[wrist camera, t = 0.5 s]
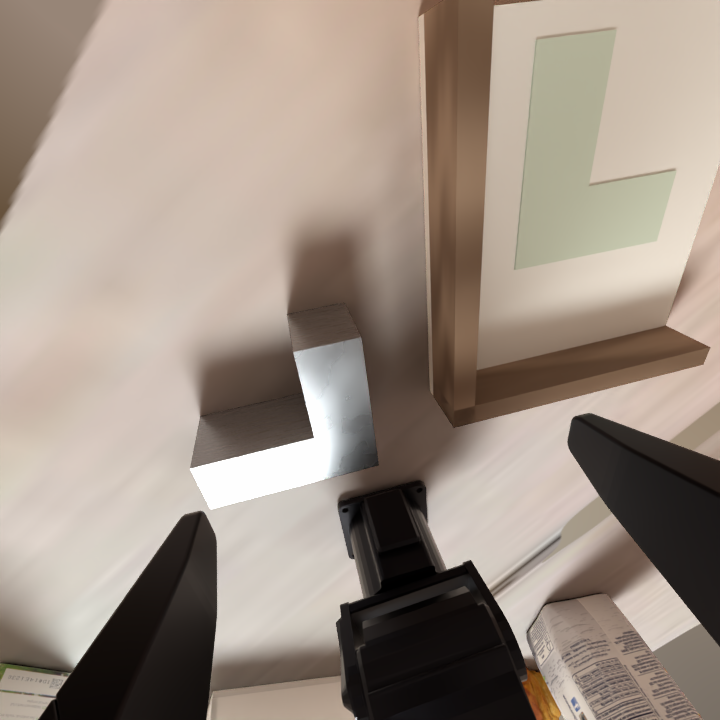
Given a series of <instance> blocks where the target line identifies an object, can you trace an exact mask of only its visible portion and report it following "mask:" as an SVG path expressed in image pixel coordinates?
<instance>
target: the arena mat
mask: <svg viewBox="0 0 720 720" xmlns="http://www.w3.org/2000/svg"><path fill="white" fill-rule="evenodd" d="M418 25H419V58H420V90H421V123H422V155H423V187H424V220H425V252H426V284H427V317H428V349H429V381H430V392H431V393H432V395H433V361H432V321H431V281H430V241H429V201H428V161H427V121H426V81H425V41H424V14H422V15H421V16H419V17H418ZM719 164H720V0H539V1H530V2H521V3H512V4H503V5H494V15H493V36H492V57H491V78H490V99H489V120H488V141H487V162H486V183H485V205H484V226H483V247H482V268H481V289H480V310H479V331H478V352H477V370H480V369H484V368H488V367H492V366H497V365H501V364H505V363H509V362H514V361H518V360H522V359H526V358H531V357H535V356H539V355H543V354H548V353H552V352H556V351H560V350H564V349H569V348H573V347H577V346H581V345H586V344H590V343H594V342H598V341H603V340H607V339H611V338H615V337H619V336H624V335H628V334H632V333H636V332H641V331H645V330H649V329H653V328H658V327H662V326H666V323H667V320H668V317H669V314H670V311H671V308H672V305H673V302H674V299H675V296H676V293H677V290H678V287H679V284H680V281H681V278H682V275H683V272H684V269H685V266H686V263H687V260H688V257H689V254H690V251H691V248H692V245H693V242H694V239H695V236H696V233H697V230H698V227H699V224H700V221H701V218H702V215H703V212H704V209H705V206H706V203H707V200H708V197H709V194H710V191H711V188H712V185H713V182H714V179H715V176H716V173H717V170H718V167H719Z"/></svg>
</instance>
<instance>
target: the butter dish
mask: <svg viewBox="0 0 720 720" xmlns="http://www.w3.org/2000/svg"><path fill="white" fill-rule="evenodd" d="M206 720H355V717H354V714H352V713H351V712H350V711H349V710H347V709H346V708H345V707H344V706H343V702H342V697H341V676H333V677H325V678H316V679H308V680H300V681H292V682H284V683H276V684H267V685H259V686H251V687H243V688H235V689H227V690H218V691H213V692H212V696H211V700H210V703H209V707H208V710H207V719H206Z"/></svg>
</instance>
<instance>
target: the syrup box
mask: <svg viewBox="0 0 720 720" xmlns="http://www.w3.org/2000/svg"><path fill="white" fill-rule="evenodd" d="M70 674H71V673H67V672H60V671H53V670H46V669H40V668H33V667H25V666H18V665H12V664H3V663H0V720H38V719H39V717H40V716H41V714H42V713H43V712H44V710H45V709H46V707H47V706H48V705H49V703H50V702H51V701H52V700H53V699H56V694H57V692H58V691H59V689H60V688H61V687H62V685H63V684H64V682H65V681H66V679H67V678H68V677H69V675H70Z"/></svg>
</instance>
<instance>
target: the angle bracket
mask: <svg viewBox="0 0 720 720" xmlns="http://www.w3.org/2000/svg"><path fill="white" fill-rule="evenodd" d="M287 317H288V323H289V329H290V336H291V342H292V348H293V354H294V358H295V362H296V366H297V370H298V374H299V378H300V382H301V386H302V390H303V393H300V394H296V395H292V396H287V397H283V398H279V399H274V400H270V401H265V402H261V403H257V404H252V405H248V406H244V407H239V408H235V409H231V410H226V411H222V412H218V413H213V414H209V415H205V416H200V421H199V426H198V431H197V436H196V441H195V446H194V451H193V456H192V462H191V467H190V470H191V472H192V474H193V476H194V478H195V480H196V482H197V484H198V486H199V487H200V489H201V491H202V493H203V495H204V497H205V499H206V501H207V503H208V505H209V507H210V509H213V508H217V507H221V506H224V505H228V504H232V503H236V502H240V501H244V500H247V499H251V498H255V497H259V496H263V495H267V494H270V493H274V492H278V491H282V490H286V489H290V488H293V487H297V486H301V485H305V484H309V483H313V482H316V481H320V480H324V479H328V478H332V477H336V476H339V475H343V474H347V473H351V472H355V471H359V470H362V469H366V468H370V467H374V466H378V465H379V464H378V456H377V449H376V441H375V434H374V427H373V419H372V412H371V404H370V397H369V390H368V382H367V375H366V367H365V360H364V353H363V345H362V338H361V335H360V333H359V331H358V329H357V327H356V325H355V323H354V321H353V319H352V317H351V315H350V313H349V311H348V309H347V307H346V305H345V303H340V304H335V305H330V306H326V307H321V308H316V309H311V310H306V311H301V312H296V313H291V314H287Z"/></svg>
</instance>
